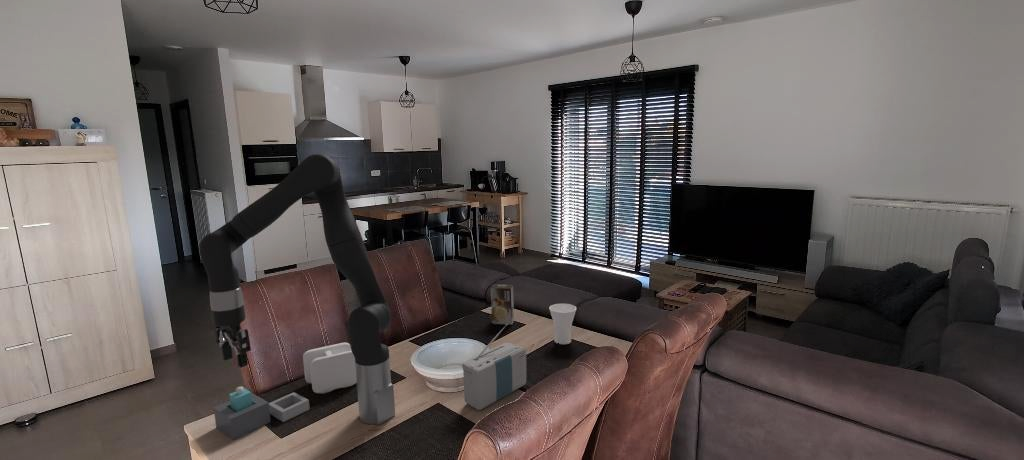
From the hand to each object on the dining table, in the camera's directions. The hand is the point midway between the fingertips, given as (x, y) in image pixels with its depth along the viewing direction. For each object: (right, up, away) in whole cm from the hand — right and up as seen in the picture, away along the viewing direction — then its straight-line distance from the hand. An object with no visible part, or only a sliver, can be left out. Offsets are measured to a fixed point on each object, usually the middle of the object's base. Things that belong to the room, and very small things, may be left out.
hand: (235, 362), depth 130 cm
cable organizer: (+17, -14, +26) cm, 34 cm away
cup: (+95, -8, +56) cm, 111 cm away
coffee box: (+71, -4, +78) cm, 106 cm away
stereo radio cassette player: (+70, -15, +17) cm, 73 cm away
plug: (0, -17, +3) cm, 17 cm away
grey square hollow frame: (+10, -17, +10) cm, 22 cm away
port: (0, -18, +4) cm, 19 cm away
